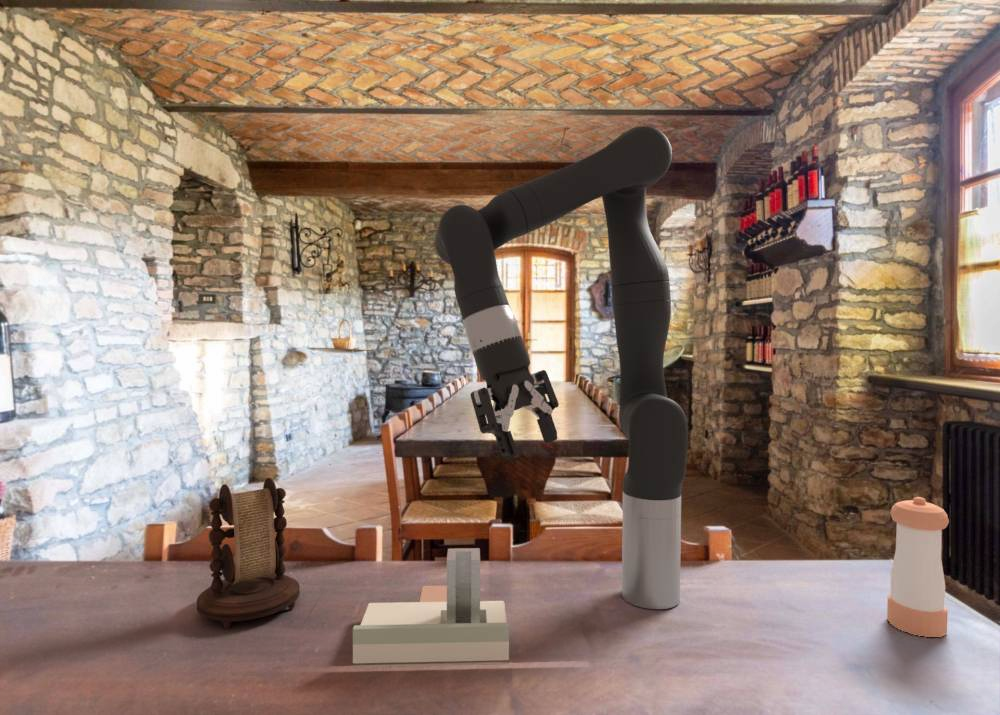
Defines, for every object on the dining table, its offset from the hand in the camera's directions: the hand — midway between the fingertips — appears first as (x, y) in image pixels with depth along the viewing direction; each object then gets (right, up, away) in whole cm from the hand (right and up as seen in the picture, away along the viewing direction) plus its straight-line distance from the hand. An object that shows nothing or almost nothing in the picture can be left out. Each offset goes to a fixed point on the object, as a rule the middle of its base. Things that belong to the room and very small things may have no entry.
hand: (532, 449), depth 84 cm
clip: (-10, -26, -2) cm, 28 cm away
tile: (-14, -26, +11) cm, 31 cm away
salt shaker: (+57, -27, +3) cm, 63 cm away
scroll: (-44, -26, +8) cm, 52 cm away
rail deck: (-14, -26, -2) cm, 30 cm away
